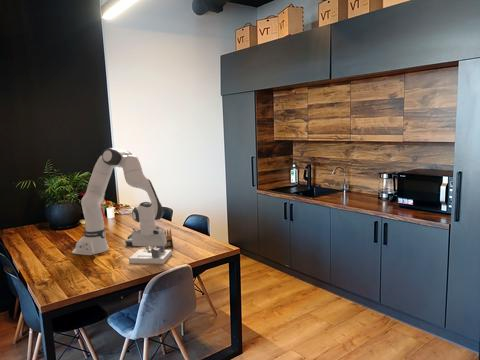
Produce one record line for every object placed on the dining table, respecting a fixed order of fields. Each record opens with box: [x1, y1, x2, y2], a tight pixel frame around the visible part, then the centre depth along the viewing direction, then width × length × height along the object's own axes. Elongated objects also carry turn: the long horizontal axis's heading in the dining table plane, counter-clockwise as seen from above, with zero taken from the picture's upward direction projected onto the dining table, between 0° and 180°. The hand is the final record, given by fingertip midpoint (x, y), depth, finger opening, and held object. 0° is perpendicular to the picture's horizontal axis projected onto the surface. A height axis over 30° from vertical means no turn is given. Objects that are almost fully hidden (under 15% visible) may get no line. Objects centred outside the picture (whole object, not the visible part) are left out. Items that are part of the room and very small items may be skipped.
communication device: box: [124, 228, 135, 247], centre depth 253 cm, size 12×24×9 cm, turn 81°
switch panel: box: [128, 248, 173, 265], centre depth 224 cm, size 21×15×3 cm
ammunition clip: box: [164, 229, 174, 250], centre depth 241 cm, size 11×2×12 cm, turn 125°
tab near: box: [151, 247, 161, 257], centre depth 219 cm, size 4×4×4 cm
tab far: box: [155, 246, 166, 252], centre depth 227 cm, size 4×4×4 cm
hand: (150, 252), depth 219 cm, fingers closed
